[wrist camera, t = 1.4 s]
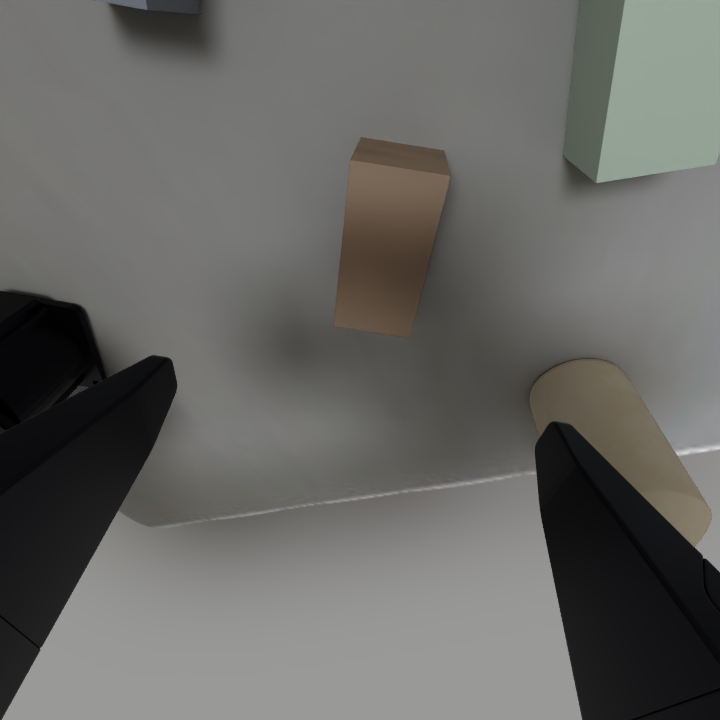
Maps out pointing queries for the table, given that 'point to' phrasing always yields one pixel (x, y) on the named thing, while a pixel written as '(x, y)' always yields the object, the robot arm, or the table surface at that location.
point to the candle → (621, 436)
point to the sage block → (644, 88)
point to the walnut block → (388, 234)
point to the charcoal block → (160, 5)
